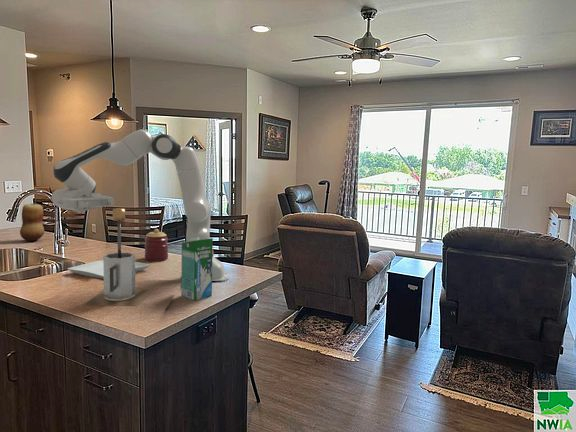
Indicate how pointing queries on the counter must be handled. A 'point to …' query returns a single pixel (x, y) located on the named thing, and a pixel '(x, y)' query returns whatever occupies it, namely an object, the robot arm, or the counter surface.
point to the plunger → (119, 225)
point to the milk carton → (197, 268)
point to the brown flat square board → (100, 301)
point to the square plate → (99, 269)
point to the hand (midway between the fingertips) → (99, 203)
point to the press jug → (119, 277)
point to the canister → (156, 246)
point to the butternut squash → (32, 222)
